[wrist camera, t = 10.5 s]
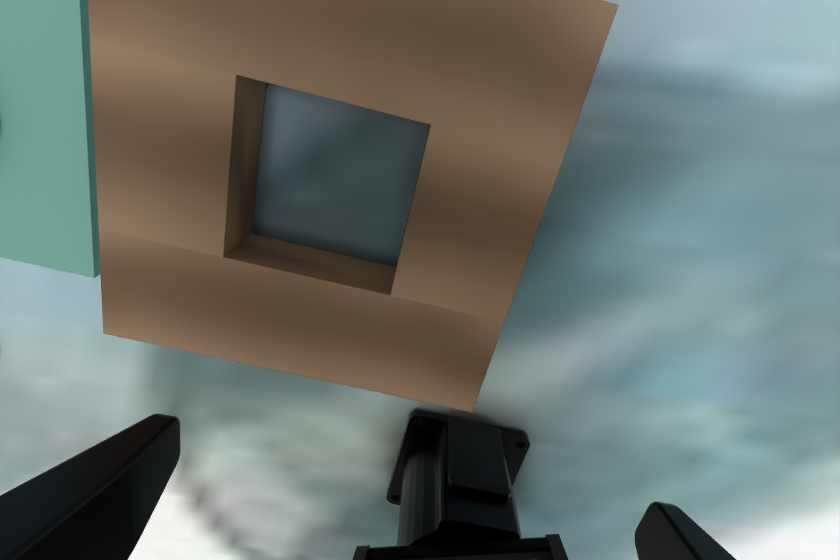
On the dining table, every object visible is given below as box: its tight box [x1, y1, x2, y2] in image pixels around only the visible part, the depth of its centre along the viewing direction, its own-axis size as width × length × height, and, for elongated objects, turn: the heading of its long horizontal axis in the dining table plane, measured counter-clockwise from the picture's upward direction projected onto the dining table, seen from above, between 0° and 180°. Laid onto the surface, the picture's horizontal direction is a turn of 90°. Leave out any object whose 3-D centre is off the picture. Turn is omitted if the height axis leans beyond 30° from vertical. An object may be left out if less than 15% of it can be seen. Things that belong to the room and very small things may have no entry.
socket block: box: [88, 0, 619, 412], centre depth 18 cm, size 16×16×3 cm
